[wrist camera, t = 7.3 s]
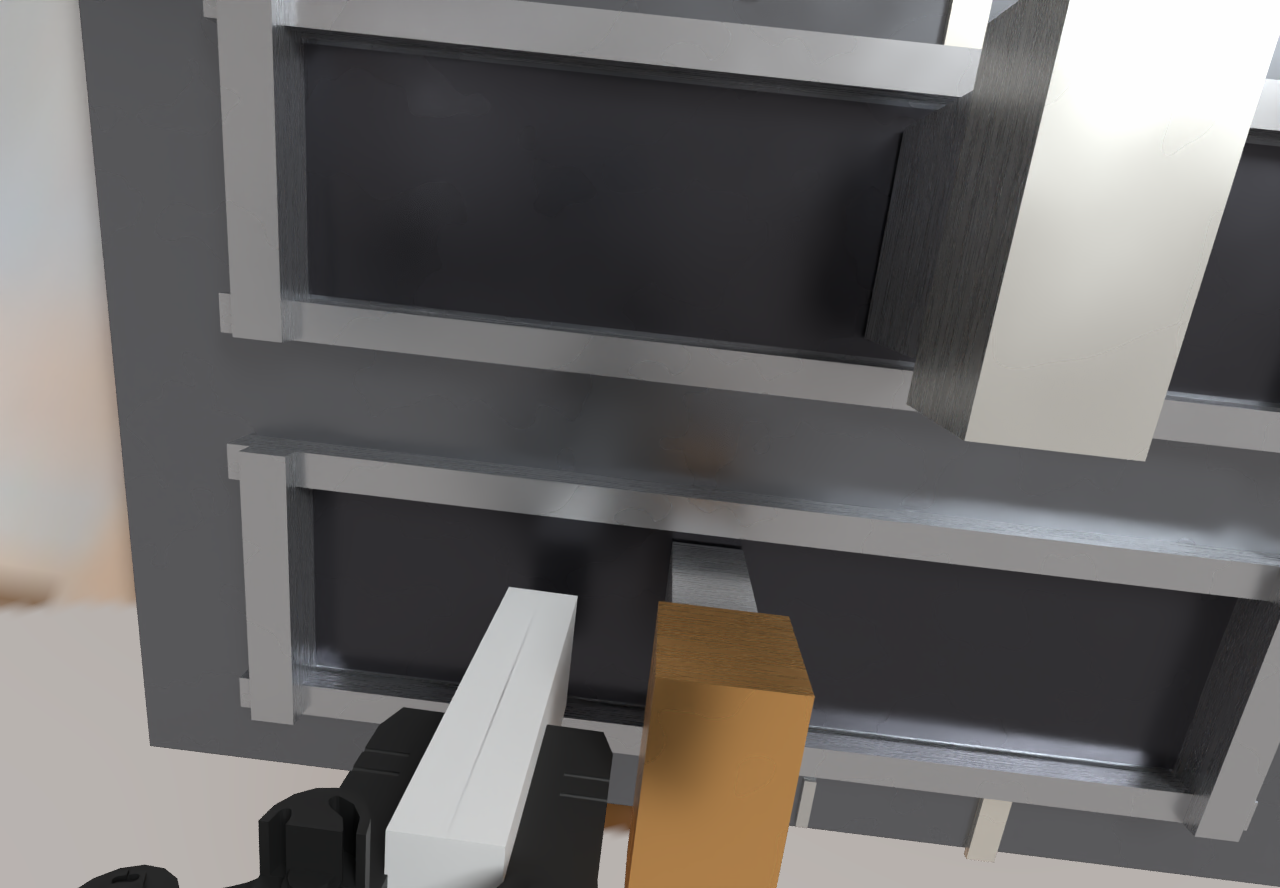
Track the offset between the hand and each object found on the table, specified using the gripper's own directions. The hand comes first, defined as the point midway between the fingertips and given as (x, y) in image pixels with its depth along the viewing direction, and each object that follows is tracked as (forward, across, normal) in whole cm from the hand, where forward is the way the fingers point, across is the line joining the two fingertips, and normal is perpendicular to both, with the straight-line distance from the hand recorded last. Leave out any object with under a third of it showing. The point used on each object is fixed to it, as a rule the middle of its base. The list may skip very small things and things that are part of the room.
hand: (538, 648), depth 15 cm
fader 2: (+1, +7, +9) cm, 12 cm away
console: (+4, +5, +5) cm, 8 cm away
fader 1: (+1, +3, 0) cm, 4 cm away
